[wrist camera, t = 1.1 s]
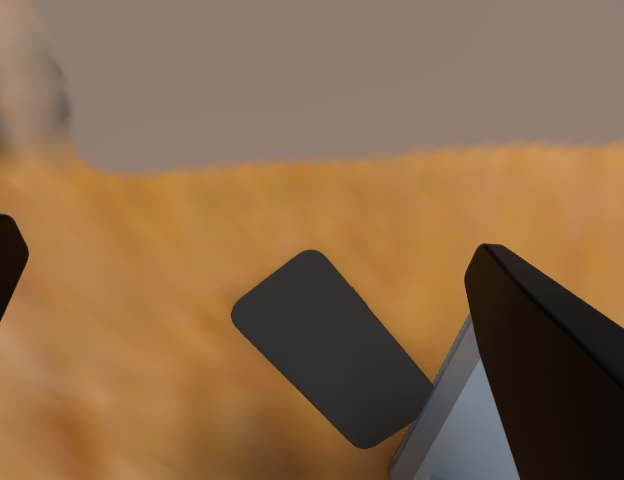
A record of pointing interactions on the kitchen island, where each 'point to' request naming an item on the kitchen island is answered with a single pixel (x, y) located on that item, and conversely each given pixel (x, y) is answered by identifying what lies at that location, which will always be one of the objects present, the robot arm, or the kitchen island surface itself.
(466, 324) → the tray
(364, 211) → the kitchen island surface
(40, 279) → the kitchen island surface
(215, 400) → the kitchen island surface
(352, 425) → the phone
